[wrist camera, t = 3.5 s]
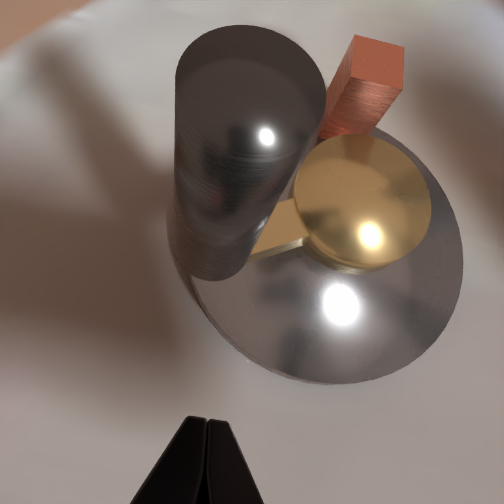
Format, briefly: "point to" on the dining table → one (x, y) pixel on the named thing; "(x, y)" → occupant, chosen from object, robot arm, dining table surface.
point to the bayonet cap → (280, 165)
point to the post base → (342, 284)
